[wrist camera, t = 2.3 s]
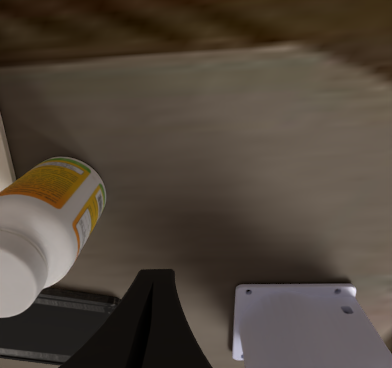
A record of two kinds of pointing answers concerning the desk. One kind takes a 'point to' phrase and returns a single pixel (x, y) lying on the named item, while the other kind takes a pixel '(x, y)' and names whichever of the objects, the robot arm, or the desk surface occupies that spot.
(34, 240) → the supplement bottle
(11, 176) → the sticky note pad
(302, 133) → the desk surface
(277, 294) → the robot arm
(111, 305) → the phone
